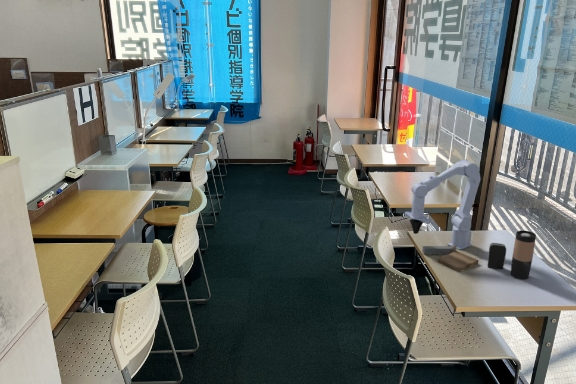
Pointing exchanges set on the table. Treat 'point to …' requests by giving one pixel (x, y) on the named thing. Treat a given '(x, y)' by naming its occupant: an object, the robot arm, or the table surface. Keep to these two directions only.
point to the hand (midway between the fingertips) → (415, 233)
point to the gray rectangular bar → (436, 250)
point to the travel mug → (522, 254)
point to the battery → (496, 255)
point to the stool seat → (457, 260)
